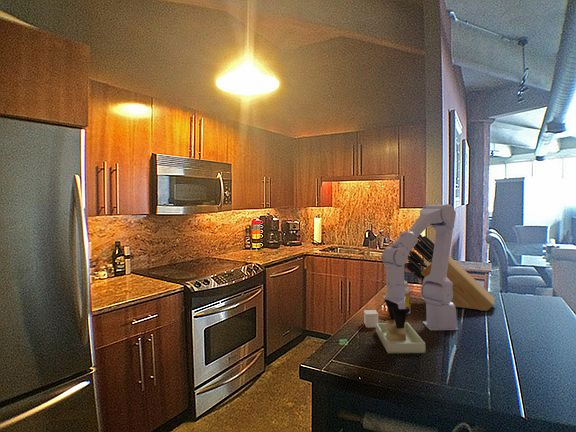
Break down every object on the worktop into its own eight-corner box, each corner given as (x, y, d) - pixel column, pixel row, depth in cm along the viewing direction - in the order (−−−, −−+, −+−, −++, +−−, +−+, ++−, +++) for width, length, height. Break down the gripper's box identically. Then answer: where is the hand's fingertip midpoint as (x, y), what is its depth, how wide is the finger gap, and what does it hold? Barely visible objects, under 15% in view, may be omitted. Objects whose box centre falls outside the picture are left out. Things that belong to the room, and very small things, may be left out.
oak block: (401, 334, 113) (401, 319, 113) (406, 340, 108) (405, 325, 108) (386, 334, 113) (386, 320, 113) (390, 340, 108) (389, 325, 108)
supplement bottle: (412, 315, 132) (411, 283, 132) (394, 315, 133) (393, 283, 133) (409, 310, 139) (408, 279, 138) (392, 309, 140) (391, 279, 139)
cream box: (376, 322, 126) (375, 310, 126) (378, 327, 122) (378, 313, 121) (364, 323, 126) (363, 310, 126) (366, 327, 122) (365, 314, 122)
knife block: (409, 295, 160) (407, 231, 159) (495, 305, 140) (494, 232, 138) (402, 301, 151) (400, 233, 150) (493, 313, 130) (491, 235, 129)
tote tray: (408, 330, 117) (407, 322, 117) (425, 352, 100) (425, 343, 100) (376, 331, 117) (375, 323, 117) (387, 353, 100) (387, 343, 100)
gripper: (378, 278, 117) (379, 316, 118) (388, 289, 103) (390, 332, 103) (398, 277, 117) (400, 315, 117) (411, 288, 102) (413, 331, 103)
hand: (396, 323), depth 110 cm, fingers open, 7 cm apart
